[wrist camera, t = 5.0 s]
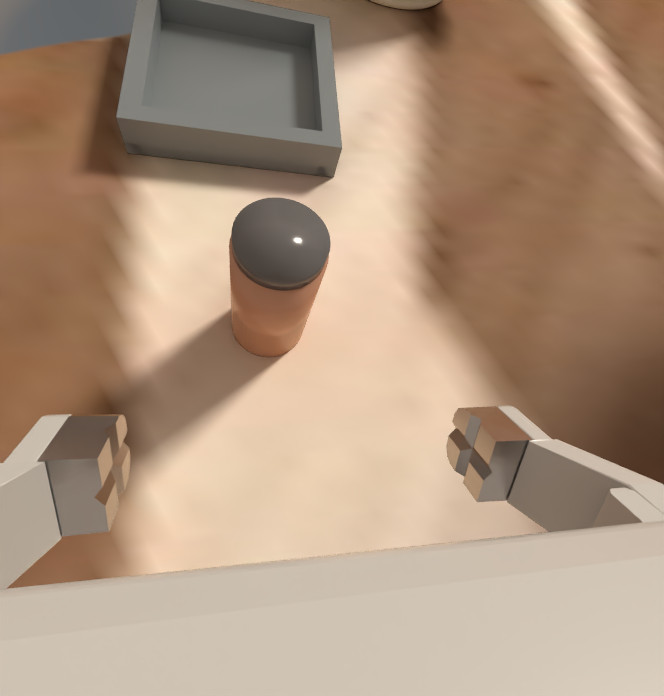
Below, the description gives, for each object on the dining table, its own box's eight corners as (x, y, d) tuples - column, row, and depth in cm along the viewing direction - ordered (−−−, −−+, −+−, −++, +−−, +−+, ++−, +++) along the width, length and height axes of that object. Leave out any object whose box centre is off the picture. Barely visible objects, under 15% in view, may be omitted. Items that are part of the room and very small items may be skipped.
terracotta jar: (301, 294, 24) (329, 201, 16) (304, 357, 22) (336, 285, 15) (232, 291, 23) (230, 190, 16) (230, 356, 21) (227, 279, 14)
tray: (322, 51, 32) (329, 17, 30) (333, 177, 28) (341, 147, 25) (148, 18, 29) (141, -22, 27) (127, 152, 25) (116, 117, 22)
